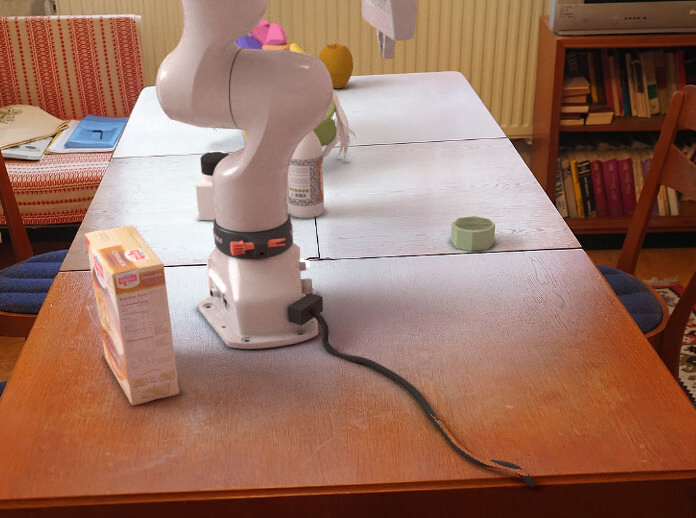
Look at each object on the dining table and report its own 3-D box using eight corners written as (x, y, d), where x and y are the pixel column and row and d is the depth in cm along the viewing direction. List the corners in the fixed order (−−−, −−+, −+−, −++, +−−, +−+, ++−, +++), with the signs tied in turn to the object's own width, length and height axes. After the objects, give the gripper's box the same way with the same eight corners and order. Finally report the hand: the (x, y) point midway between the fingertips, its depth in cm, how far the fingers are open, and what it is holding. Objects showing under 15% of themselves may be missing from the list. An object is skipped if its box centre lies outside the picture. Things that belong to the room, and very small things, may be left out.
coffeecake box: (103, 357, 142) (82, 232, 131) (150, 347, 144) (134, 223, 134) (130, 407, 130) (110, 273, 119) (181, 394, 132) (165, 262, 122)
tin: (483, 233, 175) (498, 248, 170) (446, 237, 174) (460, 252, 168) (484, 214, 173) (499, 228, 168) (447, 218, 172) (461, 233, 167)
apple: (315, 92, 262) (314, 47, 256) (320, 83, 270) (319, 39, 264) (351, 92, 260) (350, 47, 254) (355, 83, 268) (355, 39, 262)
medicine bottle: (234, 222, 185) (229, 160, 178) (198, 220, 186) (192, 159, 180) (243, 208, 191) (239, 148, 184) (208, 207, 192) (203, 147, 186)
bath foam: (325, 218, 185) (322, 112, 174) (288, 219, 184) (284, 114, 174) (322, 205, 190) (320, 102, 180) (287, 206, 190) (283, 104, 180)
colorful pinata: (337, 98, 189) (249, -16, 202) (232, 200, 199) (154, 85, 211) (398, 148, 217) (318, 45, 230) (304, 235, 227) (232, 132, 239)
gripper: (352, -36, 170) (353, 46, 177) (386, -18, 153) (385, 72, 160) (387, -39, 171) (386, 43, 178) (424, -21, 154) (422, 68, 161)
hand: (386, 57), depth 169 cm, fingers closed
